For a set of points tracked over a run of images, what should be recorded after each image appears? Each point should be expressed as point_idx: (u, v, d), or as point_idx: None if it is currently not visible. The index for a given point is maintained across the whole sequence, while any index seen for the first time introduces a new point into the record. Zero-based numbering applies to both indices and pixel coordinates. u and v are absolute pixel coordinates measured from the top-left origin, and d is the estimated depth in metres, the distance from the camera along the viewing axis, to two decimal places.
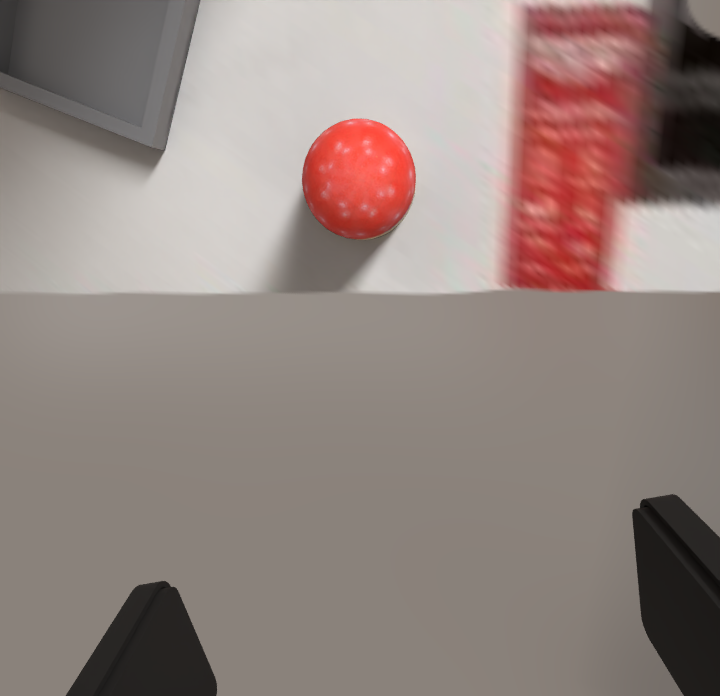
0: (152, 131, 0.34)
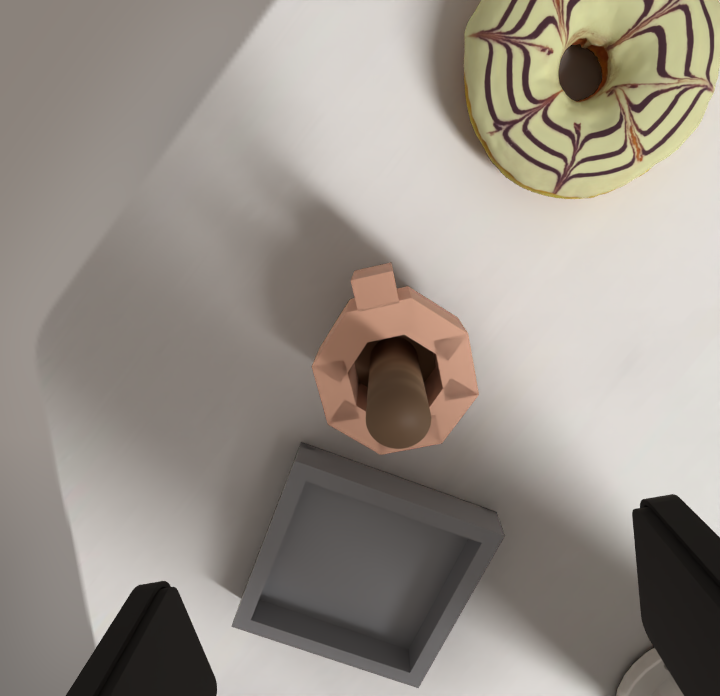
0: (248, 629, 0.31)
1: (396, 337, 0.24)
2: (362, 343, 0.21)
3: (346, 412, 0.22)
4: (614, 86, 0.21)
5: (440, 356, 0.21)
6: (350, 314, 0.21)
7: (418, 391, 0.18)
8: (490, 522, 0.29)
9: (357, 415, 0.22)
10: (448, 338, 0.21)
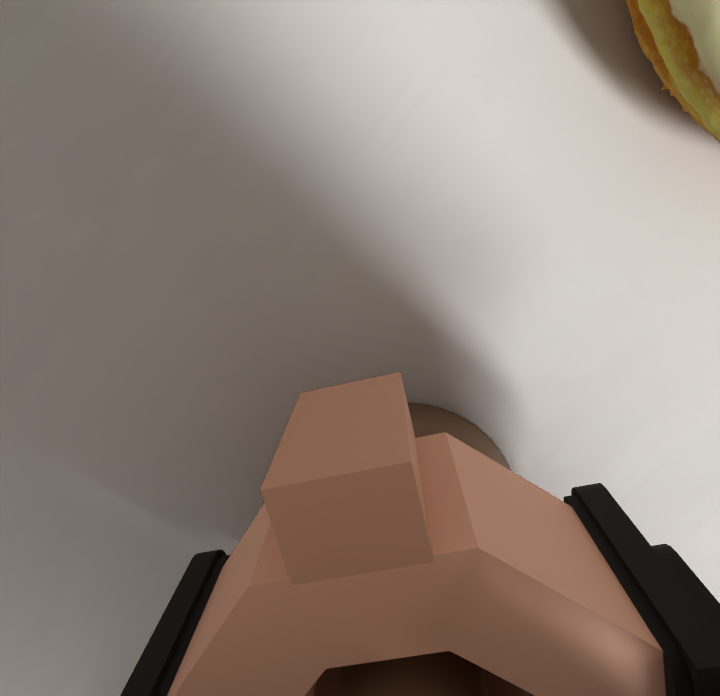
0: None
1: None
2: (310, 672, 0.06)
3: None
4: None
5: None
6: (266, 590, 0.06)
7: None
8: None
9: None
10: (597, 664, 0.06)
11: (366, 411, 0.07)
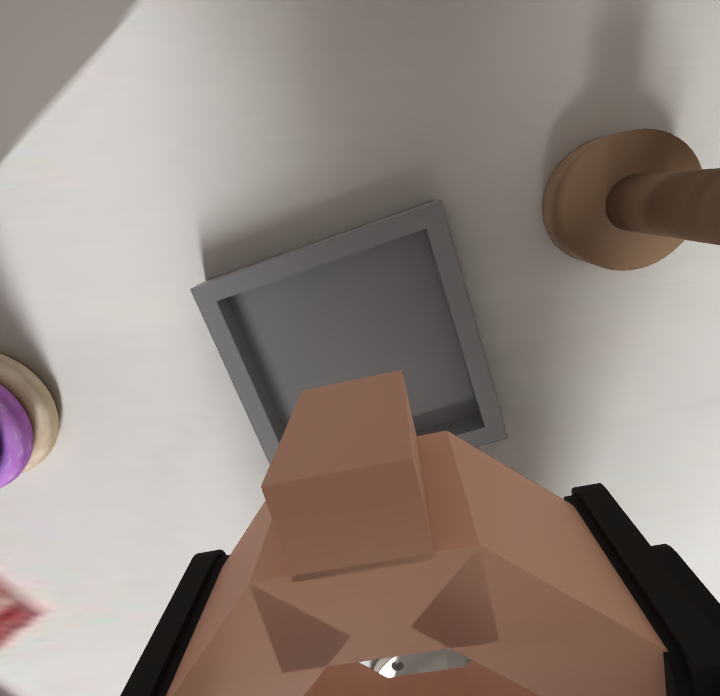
0: (202, 307, 0.24)
1: None
2: (311, 670, 0.06)
3: None
4: None
5: None
6: (267, 587, 0.06)
7: None
8: None
9: None
10: (599, 661, 0.06)
11: (367, 408, 0.07)
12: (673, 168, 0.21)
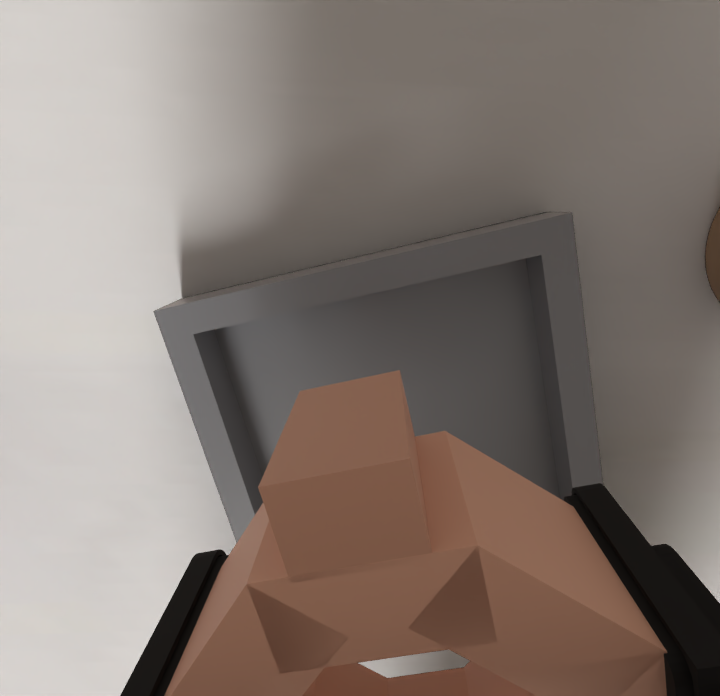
0: (170, 341, 0.15)
1: None
2: (308, 671, 0.06)
3: None
4: None
5: None
6: (264, 588, 0.06)
7: None
8: None
9: None
10: (597, 662, 0.06)
11: (365, 409, 0.07)
12: None
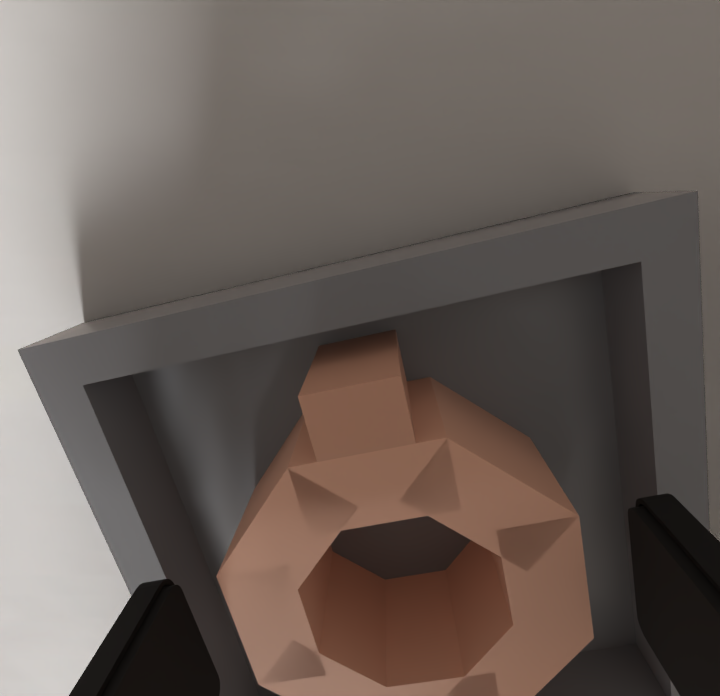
0: (49, 395, 0.10)
1: None
2: (329, 533, 0.09)
3: (298, 664, 0.10)
4: None
5: (510, 562, 0.09)
6: (300, 471, 0.09)
7: None
8: None
9: (322, 670, 0.10)
10: (531, 524, 0.09)
11: (369, 352, 0.10)
12: None
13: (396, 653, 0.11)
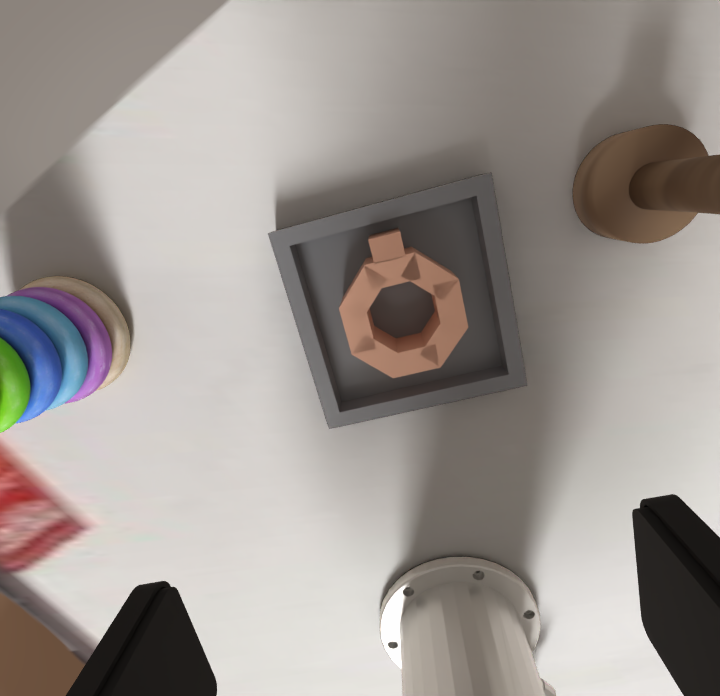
0: (276, 250, 0.28)
1: None
2: (377, 289, 0.27)
3: (366, 344, 0.28)
4: None
5: (437, 298, 0.27)
6: (368, 266, 0.27)
7: None
8: None
9: (374, 346, 0.28)
10: (443, 283, 0.27)
11: (389, 231, 0.28)
12: None
13: (401, 348, 0.29)
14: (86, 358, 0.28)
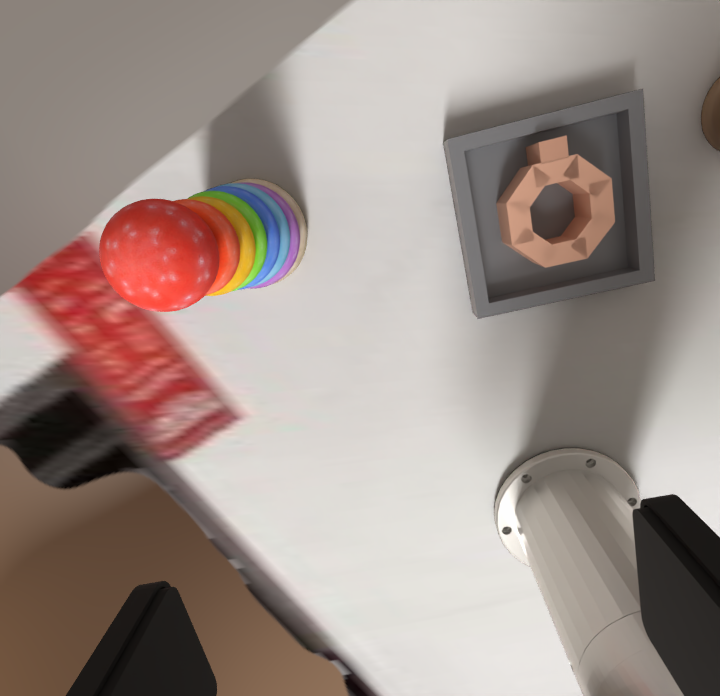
0: (452, 154, 0.33)
1: None
2: (541, 186, 0.32)
3: (525, 236, 0.33)
4: None
5: (592, 195, 0.32)
6: (535, 166, 0.32)
7: None
8: None
9: (532, 238, 0.33)
10: (598, 181, 0.32)
11: None
12: None
13: (551, 242, 0.34)
14: (290, 241, 0.33)
